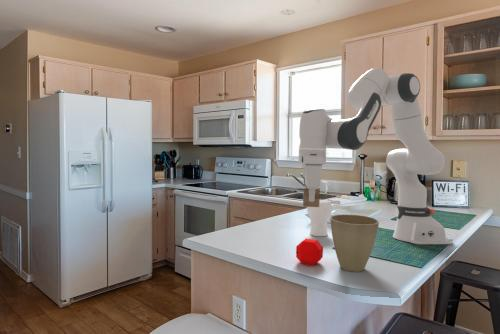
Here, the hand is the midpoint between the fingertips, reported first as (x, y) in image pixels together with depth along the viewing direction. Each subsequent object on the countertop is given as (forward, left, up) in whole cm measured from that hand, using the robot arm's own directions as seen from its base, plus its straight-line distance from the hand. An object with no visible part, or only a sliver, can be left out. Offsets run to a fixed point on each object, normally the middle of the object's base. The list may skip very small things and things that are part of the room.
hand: (311, 199), depth 115 cm
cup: (-6, -40, -21) cm, 46 cm away
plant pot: (-14, +2, -21) cm, 25 cm away
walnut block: (0, 0, -2) cm, 2 cm away
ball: (0, 0, -21) cm, 21 cm away
